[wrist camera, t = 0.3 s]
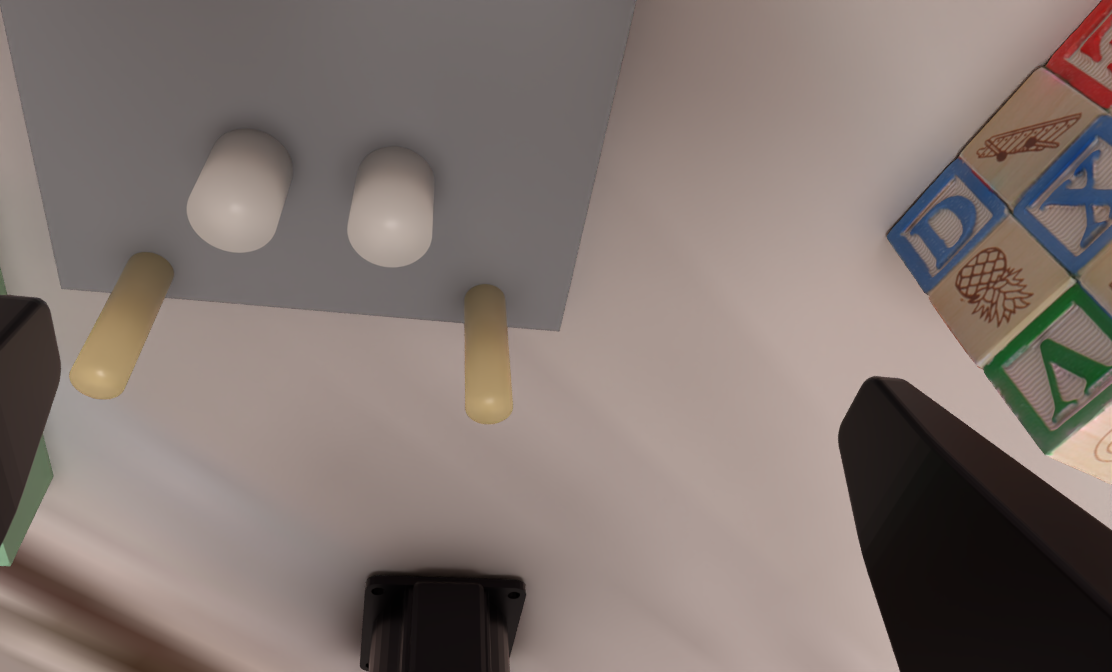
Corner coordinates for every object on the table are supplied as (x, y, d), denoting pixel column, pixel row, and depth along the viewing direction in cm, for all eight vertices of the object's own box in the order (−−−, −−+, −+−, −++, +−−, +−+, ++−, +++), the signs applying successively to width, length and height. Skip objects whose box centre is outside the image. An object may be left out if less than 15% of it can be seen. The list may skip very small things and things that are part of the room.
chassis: (556, 311, 27) (574, 437, 23) (74, 268, 24) (-7, 401, 20) (713, -385, 17) (801, -391, 12) (-98, -585, 14) (-339, -682, 10)
